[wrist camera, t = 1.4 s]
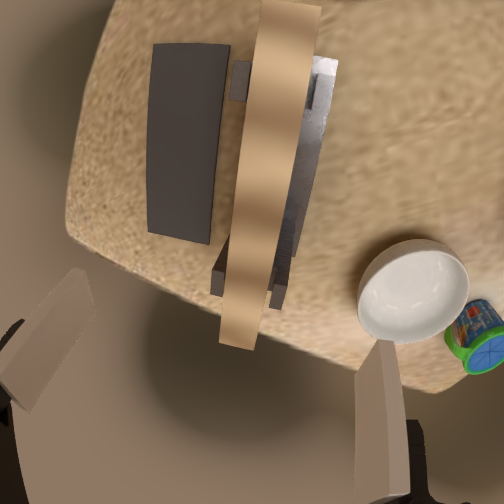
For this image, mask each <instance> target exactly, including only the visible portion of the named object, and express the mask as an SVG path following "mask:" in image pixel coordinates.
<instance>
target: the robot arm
mask: <svg viewBox="0 0 504 504" xmlns="http://www.w3.org/2000/svg"><path fill="white" fill-rule="evenodd" d="M96 314H97V313H96V309H95V306H94V302H93V298H92V295H91V291H90V287H89V283H88V279H87V275H86V271H84V270H81V269H78V268H73V269H72V270H71V271H70V272H69V273H68V274H67V275H66V276H65V277H64V278H63V279H62V280H61V281H60V282H59V283H58V285H56V286H55V287H54V289H53V290H52V291H51V292H50V293H49V294H48V295H47V296H46V297H45V299H44V300H43V301H42V302H41V303H40V304H39V305H38V306H37V307H36V309H35V310H34V311H33V312H32V313H31V314H30V316H29V317H28V318H27V319H26V320H24V319H21V320H19V321H17V322H16V323H14V324H13V325H12V326H11V327H10V328H9V330H8V331H7V332H6V334H5V335H4V336H3V337H2V338H1V341H0V504H29V502H28V498H27V494H26V490H25V486H24V482H23V478H22V474H21V469H20V464H19V458H18V453H17V447H16V440H15V433H14V425H13V416H12V407H11V403H10V401H11V399H12V400H13V401H14V402H15V403H16V404H17V405H18V406H19V407H21V408H22V409H23V410H25V411H26V412H28V413H30V412H31V409H32V408H33V407H34V405H35V403H36V402H37V400H38V399H39V397H40V395H41V394H42V392H43V390H44V389H45V387H46V386H47V384H48V383H49V381H50V380H51V378H52V377H53V375H54V373H55V372H56V370H57V369H58V367H59V366H60V364H61V363H62V361H63V360H64V359H65V357H66V355H67V354H68V353H69V351H70V350H71V348H72V347H73V345H74V344H75V343H76V341H77V340H78V338H79V337H80V335H81V333H83V331H84V330H85V328H86V327H87V326H88V324H89V323H90V321H91V320H92V319H93V318H94V316H95V315H96ZM354 377H355V378H354V379H355V411H356V412H355V415H356V445H355V478H354V495H353V504H443V503H439V502H436V501H435V500H434V499H433V497H432V496H430V494H429V491H428V482H427V466H426V455H425V446H424V435H423V430H422V428H421V426H420V424H419V422H418V420H406V418H405V409H404V403H403V402H404V401H403V394H402V387H401V380H400V373H399V367H398V361H397V356H396V350H395V345H394V341H389V340H383V339H378V340H377V341H376V343H375V345H374V346H373V348H372V349H371V351H370V353H369V354H368V356H367V357H366V359H365V361H364V362H363V364H362V365H361V367H360V368H359V370H358V371H357V373H356V374H355V376H354ZM462 504H470V503H467V502H465V503H462Z"/></svg>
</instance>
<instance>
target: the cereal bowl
mask: <svg viewBox="0 0 504 504" xmlns="http://www.w3.org/2000/svg"><path fill="white" fill-rule="evenodd" d="M469 289H470V281H469V276H468V272H467V270H466V268H465V266H464V264H463V263H462V262H461V260H460V259H459V257H458V256H457V255H456V254H455V253H454V252H453V251H452V250H451V249H449V248H448V247H447V246H444V245H443V244H441V243H438V242H435V241H432V240H428V239H427V240H426V239H413V240H412V239H411V240H407V241H403V242H400V243H397V244H394V245H392V246H391V247H389V248H388V249H385V250H384V251H383V252H382V253H380V254H379V255H378V256H377V257H376V258H375V259H374V260H373V261H372V262H371V263H370V264H369V266H368V267H367V269H366V270H365V272H364V274H363V276H362V278H361V281H360V283H359V287H358V292H357V314H358V319H359V322H360V324H361V325H362V327H363V328H364V330H365V331H366V332H367V333H368V334H370V335H371V336H372V337H374V338H376V339H377V340H378V339H383V340H389V341H394V344H411V343H416V342H420V341H423V340H426V339H429V338H431V337H433V336H435V335H437V334H438V333H440V332H441V331H443V330H444V329H446V328H447V327H448V326H449V325H450V324H452V323H453V321H454V320H455V319H456V318H457V317H458V316H459V314H460V313H461V311H462V310H463V308H464V306H465V304H466V302H467V299H468V295H469Z"/></svg>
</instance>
